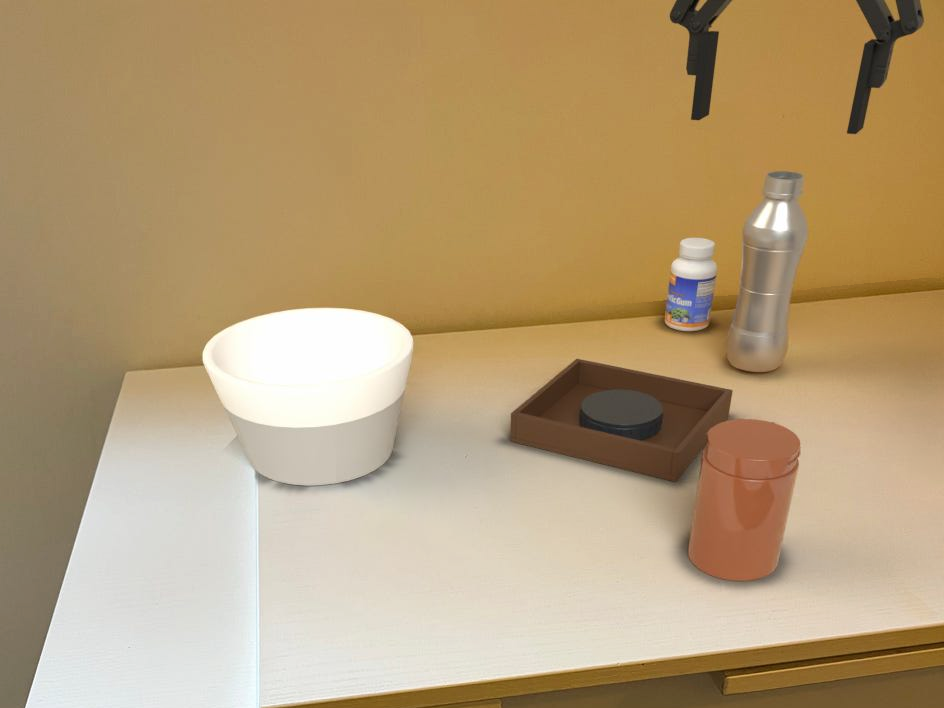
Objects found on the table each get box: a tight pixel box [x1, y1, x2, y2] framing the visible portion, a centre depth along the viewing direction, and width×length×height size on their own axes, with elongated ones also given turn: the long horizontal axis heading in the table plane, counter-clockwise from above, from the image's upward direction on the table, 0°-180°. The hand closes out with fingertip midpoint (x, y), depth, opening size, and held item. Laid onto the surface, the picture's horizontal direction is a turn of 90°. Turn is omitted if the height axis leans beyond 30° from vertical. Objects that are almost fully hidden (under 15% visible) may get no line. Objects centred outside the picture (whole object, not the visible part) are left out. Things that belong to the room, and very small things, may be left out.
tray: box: [509, 358, 734, 483], centre depth 99 cm, size 17×15×3 cm
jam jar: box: [687, 418, 801, 582], centre depth 78 cm, size 7×7×11 cm
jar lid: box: [579, 390, 663, 441], centre depth 99 cm, size 8×8×2 cm
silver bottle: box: [725, 170, 809, 373], centre depth 105 cm, size 6×7×20 cm
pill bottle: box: [664, 237, 718, 332], centre depth 118 cm, size 5×5×10 cm
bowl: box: [202, 307, 415, 487], centre depth 94 cm, size 19×19×11 cm
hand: (774, 124), depth 87 cm, fingers open, 13 cm apart
